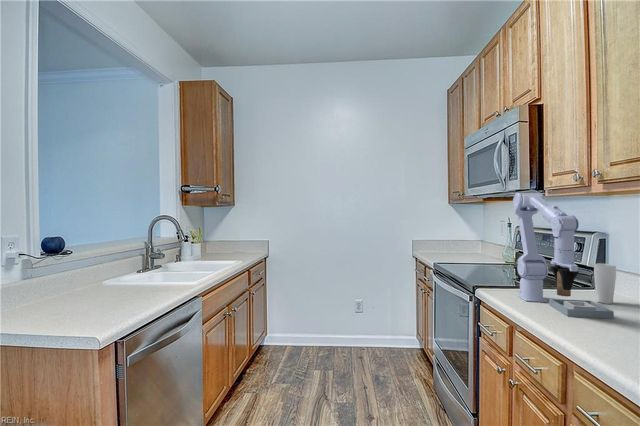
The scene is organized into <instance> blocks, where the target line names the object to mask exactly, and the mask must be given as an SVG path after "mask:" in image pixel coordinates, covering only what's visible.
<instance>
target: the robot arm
mask: <svg viewBox="0 0 640 426" xmlns="http://www.w3.org/2000/svg"><path fill="white" fill-rule="evenodd" d="M512 206H513V211H514V214H515V215H516V216H517V221H518V226H519V227H518V228H519V233H520V239H521V244H522V252H523V254H522V255H521V256H519V258H517V267H516V268H517V273H518V275H519V276H520V280H519V293H518V294H517V296H518V297H519V298H521V299H522V300H523V301H525V302H533V303H534V302H535V303H536V302H537V303H539V302H540V303H548V300H546V299H545V298H543V297H544V294H543V293H544V280H545V279H546V277H547V276H548V275H549V272H550V271H549V266H548V264H547V262H546V258H545V257H544V256H542V255H541V254H539V252H538V247H537V241H536V235H535V229H534V223H533V215H536V214H538V212H539V211H540V212H541V215H542V217H543V219H544V220H546V222H548V223H549V224H550V228H551V230H552V235H553V237H554V243H553V244H554V245H553V246H554V248H553V249H554V250H553V251H554V253H553V254H554V256H553V257H554V258H552V259H551V261H550V264H551V266H550V270H551V271H552V273H553V276H554V279H555V284H556V285H557V272H558V271H559V273H560V275H561V279H562V287H563V289H564V290H571V291H572V287H573V284H574V281H575V279H576V277H577V275H578V274H579V273H580V271H579V270H578V269H579V266H578V265H577V264H576V263H575V232H577V230H578V229H579V225H580V224H579V219H578V218H577V217H576V216H575V215H574V214H570V215H568V214H567V213H565V211H563V210H561V209H560V208H559V206H558V205H550V204H549V203H548V202H547V201H546V200H545V196H544V195H543V193H541V192H526V193H525V192H522V193H521V192H516V193H515V195H514V196H513V199H512ZM553 265H554V266H553Z"/></svg>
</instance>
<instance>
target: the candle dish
mask: <svg viewBox="0 0 640 426" xmlns="http://www.w3.org/2000/svg"><path fill="white" fill-rule="evenodd" d="M548 301H549V303H548V306H550V307H551V308H552V309H555V310H556V311H557V312H559V313H561V314H562V315H564V316H566V317H570V318H589V319H592V318H593V319H612V320H613V319H615V318H614V314H615V311H613V310H611V309H609V308H607V307H605V306H604V305H600V303H598V302H597V303H596V302H594V301H593V300H590V299H589V300H587V299H586V300H585V299H566V298H565V299H561V298H559V299H558V298H549V300H548Z"/></svg>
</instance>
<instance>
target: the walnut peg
mask: <svg viewBox="0 0 640 426" xmlns="http://www.w3.org/2000/svg"><path fill="white" fill-rule="evenodd" d="M571 291H572V289H571V290H564V289H563V287H562V279H561V275H560V273H559V271H558V272H557V284H556V295H557V296H560V297H566V298H567V297H571V295H572V292H571Z"/></svg>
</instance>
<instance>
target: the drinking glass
mask: <svg viewBox="0 0 640 426" xmlns="http://www.w3.org/2000/svg"><path fill="white" fill-rule="evenodd" d="M593 276H594V277H593V278H594V287H595V288H594V289H595V300H596V302H597V303H598V304H604V305H612V304H614V297H615V296H614V295H615V289H616V279H617V266H616V265H615V264H611V263H609V264H608V263H594V265H593Z"/></svg>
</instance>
